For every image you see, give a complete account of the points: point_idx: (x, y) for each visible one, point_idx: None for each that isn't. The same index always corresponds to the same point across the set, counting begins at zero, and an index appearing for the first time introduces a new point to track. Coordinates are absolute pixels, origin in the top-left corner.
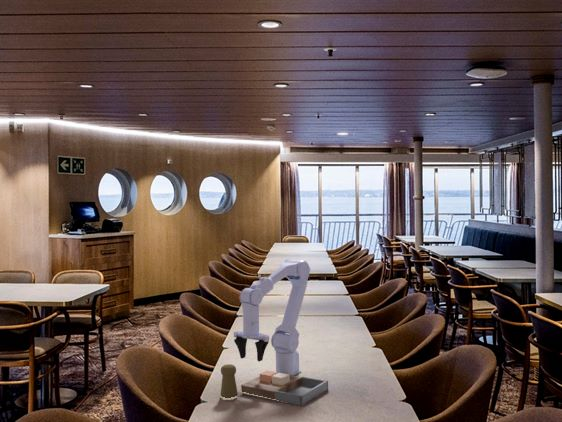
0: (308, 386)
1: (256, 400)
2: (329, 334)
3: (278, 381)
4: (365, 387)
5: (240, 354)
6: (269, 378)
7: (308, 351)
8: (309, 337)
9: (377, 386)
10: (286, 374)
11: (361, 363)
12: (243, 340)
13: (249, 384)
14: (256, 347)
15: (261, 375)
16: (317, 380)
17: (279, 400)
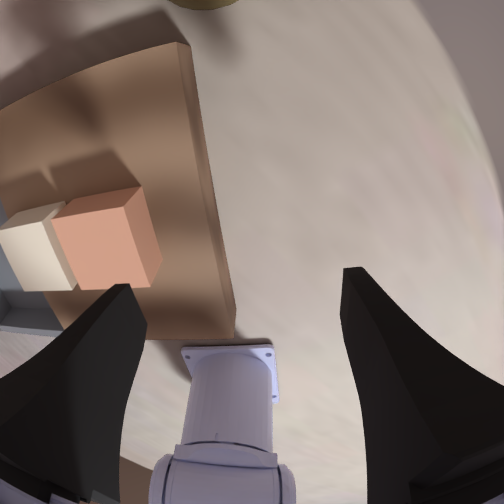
0: (47, 303)
1: (57, 46)
2: (332, 496)
3: (24, 216)
4: (4, 355)
5: (369, 289)
6: (63, 210)
7: (312, 467)
8: (359, 484)
9: (3, 366)
10: (30, 285)
11: (148, 453)
12: (387, 482)
13: (137, 88)
14: (39, 389)
15: (111, 204)
16: (16, 325)
17: None
